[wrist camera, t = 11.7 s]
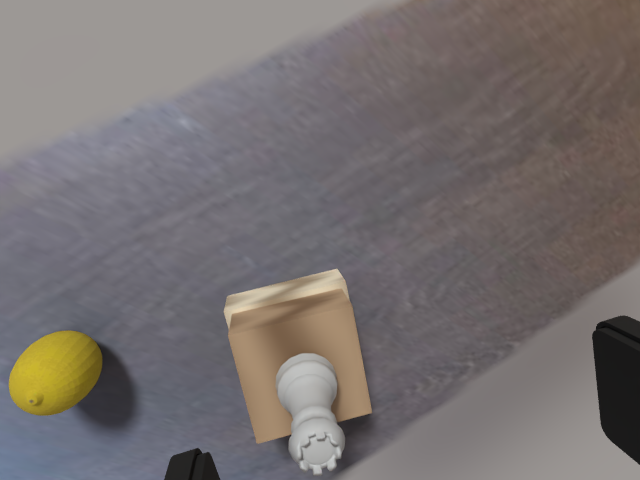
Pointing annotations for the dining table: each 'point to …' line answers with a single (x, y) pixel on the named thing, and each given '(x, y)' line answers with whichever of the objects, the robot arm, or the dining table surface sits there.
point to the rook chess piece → (311, 411)
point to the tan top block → (293, 339)
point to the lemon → (55, 373)
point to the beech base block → (284, 292)
